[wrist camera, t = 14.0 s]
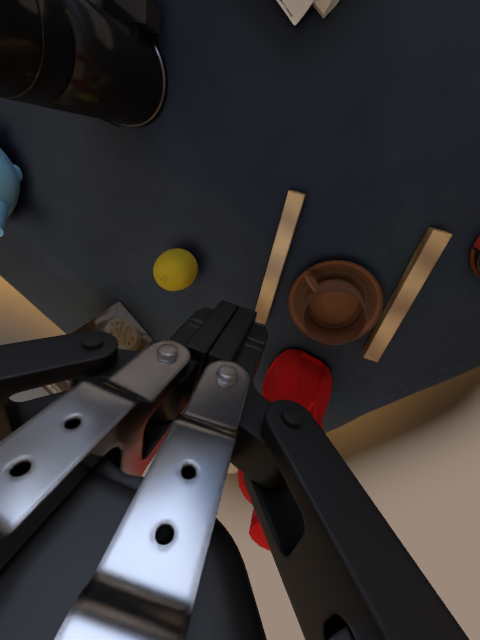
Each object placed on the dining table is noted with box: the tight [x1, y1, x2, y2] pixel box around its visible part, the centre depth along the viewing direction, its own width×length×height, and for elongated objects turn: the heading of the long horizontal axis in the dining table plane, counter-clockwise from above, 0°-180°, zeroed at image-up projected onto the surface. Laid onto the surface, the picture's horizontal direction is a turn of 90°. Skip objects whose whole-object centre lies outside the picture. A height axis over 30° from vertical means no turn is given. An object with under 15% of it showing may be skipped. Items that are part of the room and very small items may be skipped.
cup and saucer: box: [288, 260, 383, 345], centre depth 37 cm, size 12×12×6 cm
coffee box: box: [42, 301, 152, 395], centre depth 46 cm, size 9×6×16 cm
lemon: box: [153, 248, 198, 291], centre depth 40 cm, size 6×6×8 cm
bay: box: [255, 190, 452, 362], centre depth 38 cm, size 18×18×2 cm
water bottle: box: [238, 349, 332, 551], centre depth 36 cm, size 9×11×25 cm
